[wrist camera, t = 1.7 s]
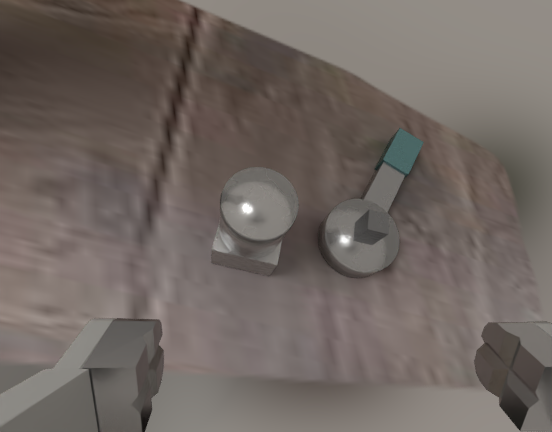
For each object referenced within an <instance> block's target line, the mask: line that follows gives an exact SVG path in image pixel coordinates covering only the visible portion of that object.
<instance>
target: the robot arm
mask: <svg viewBox="0 0 552 432" xmlns="http://www.w3.org/2000/svg"><path fill="white" fill-rule="evenodd" d="M162 335H163V334H162V324H161V322H160V320H157V319H123V318H117V319H115V318H94V319H92V320H90V321H89V322H88V323H87V324H86V326H85V327H84V328H83V330H82V331H81V332H80V334H79V335H78V336H77V338H76V339H75V340H74V341H73V343H72V344H71V345H70V347H69V348H68V349H67V351H66V352H65V353H64V355H63V356H62V357H61V359H60V360H59V361H58V362H57V364H56V365H55V366H54V368H53V369H44V370H43V371H41V372H39V373H37V374H35V375H34V376H32V377H30V378H29V379H27V380H25V381H23V382H21V383H20V384H18V385H16V386H14V387H13V388H11V389H9V390H7V391H5V392H4V393H2V394H0V432H145V430H146V426H147V424H148V421H149V418H150V415H151V412H152V402H151V398H152V397H153V396H155V395H156V394H157V393H158V391H159V387H160V384H161V380H162V375H163V369H164V350H163V349H162V348H161V347H160V346H159V342H160V340H161V337H162ZM481 336H482V338H483V340H484V344H483V345H482V346H481V347H480V348H479V349H478V350H477V352H476V356H475V360H474V363H475V369H476V374H477V376H478V378H479V380H480V382H481V383H482V384H483V386H484V387H485V388H486V390H488V391H489V392H491V393H492V394H494V395H496V396H497V397H499V405H500V407H501V408H502V409H503V411H504V412H505V413H506V414H507V415H508V417H509V418H510V419H511V421H512V422H513V423H514V424H515V425H516V427H517V428H518V429H519V430H520V431H538V432H541V431H542V432H545V431H546V432H552V323H550V322H547V321H542V322H489V323H488V324H487V325H486V326H485V327H484V329H483V332H482V335H481Z"/></svg>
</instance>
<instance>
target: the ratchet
mask: <svg viewBox="0 0 552 432" xmlns="http://www.w3.org/2000/svg"><path fill="white" fill-rule="evenodd" d="M423 143H424V142H422V141H421V140H419V139H417V138H416V137H414V136H412V135H411V134H409V133H407V132H406V131H404V130H402V129H401V128H399V130H398V131H397V132H396V133H395V134H394V136H393V137H392V138H391V139H390V141H389V143H388V145H387V147H386V149H385V150H384V152H383V154H382V156H381V158H380V160H379V162H378V163H377V165H376V167H375V170H376V171H375V173H374V175H373V177H372V179H371V180H370V182H369V184H368V186H367V188H366V190H365V192H364V193H363V195H362V197H361V199H349V200H346V201H343V202H341V203H340V204H338V205H337V206H336V207H335V208H334V209H333V210H332V211H331V212H330V214H329V215H328V216H327V217H326V218H325V219H324V221H323V222H322V224H321V226H320V229H319V233H318V245H319V249H320V251H321V254H322V256H323V258H324V259H325V261H326V262H327V263H328V265H329V266H330V267H331V268H333V269H334V270H335V271H337V272H338V273H340V274H342V275H344V276H347V277H351V278H363V277H367V276H370V275H372V274H374V273H376V272H378V271H380V270H382V269H384V268H386V267H387V266H389V265H390V264H391V263H392V262H393V260H394V259H395V257H396V255H397V253H398V250H399V243H400V240H399V233H398V229H397V227H396V224H395V222H394V221H393V219H392V218H391V216H390V215H389V214H388V213H387V212H388V210H389V208H390V206H391V204H392V202H393V200H394V198H395V196H396V194H397V191H398V189H399V187H400V185H401V183H402V181H403V179H404V178H405V177H406V176H407V175H408V174H409V172H410V170H411V168H412V166H413V164H414V162H415V160H416V157H417V155H418V153H419V151H420V149H421V147H422V145H423Z"/></svg>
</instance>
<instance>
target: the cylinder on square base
mask: <svg viewBox="0 0 552 432" xmlns="http://www.w3.org/2000/svg"><path fill="white" fill-rule="evenodd" d="M298 206H299V204H298V196H297V193H296V191H295V189H294V187H293V185H292V184H291V183H290V182H289V180H288V179H287V178H286V177H284V176H283V175H282V174H280V173H278V172H276V171H274V170H272V169H269V168H264V167H251V168H246V169H243V170H241V171H239V172H237V173H236V174H234V175H233V176H232V177H231V178H230V179H229V180H228V181H227V183H226V185H225V186H224V189H223V191H222V194H221V200H220V221H219V225H218V229H217V232H216V236H215V240H214V243H213V247H212V254H211V263H214V264H218V265H222V266H227V267H231V268H235V269H240V270H244V271H248V272H253V273H257V274H262V275H266V276H269V275H270V274H271V273H272V271H273V270H274V269H275V268H276V266H277V264H278V259H279V254H280V248H281V243H282V239H283V238H284V236H285V235H286V233H287V232H288V231H289V229H290V228H291V226H292V225H293V223H294V222H295V219H296V217H297V213H298Z"/></svg>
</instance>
